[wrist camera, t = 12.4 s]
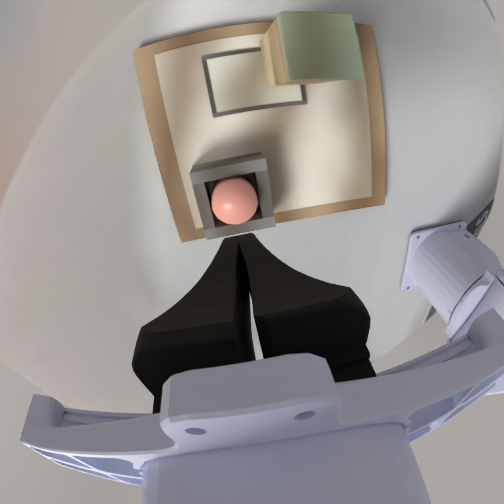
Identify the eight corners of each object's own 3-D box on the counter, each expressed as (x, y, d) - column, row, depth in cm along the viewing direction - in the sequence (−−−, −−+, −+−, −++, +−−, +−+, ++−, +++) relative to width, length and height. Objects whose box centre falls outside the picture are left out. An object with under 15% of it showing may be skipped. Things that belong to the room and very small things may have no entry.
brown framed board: (367, 27, 14) (387, 20, 12) (381, 201, 23) (398, 215, 20) (135, 51, 14) (121, 44, 11) (182, 239, 22) (178, 258, 20)
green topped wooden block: (309, 39, 14) (352, 14, 8) (317, 83, 16) (363, 78, 10) (259, 42, 14) (280, 11, 8) (268, 87, 16) (293, 79, 10)
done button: (249, 168, 19) (253, 177, 17) (256, 205, 21) (260, 219, 18) (208, 176, 19) (207, 187, 17) (217, 213, 21) (217, 228, 18)
